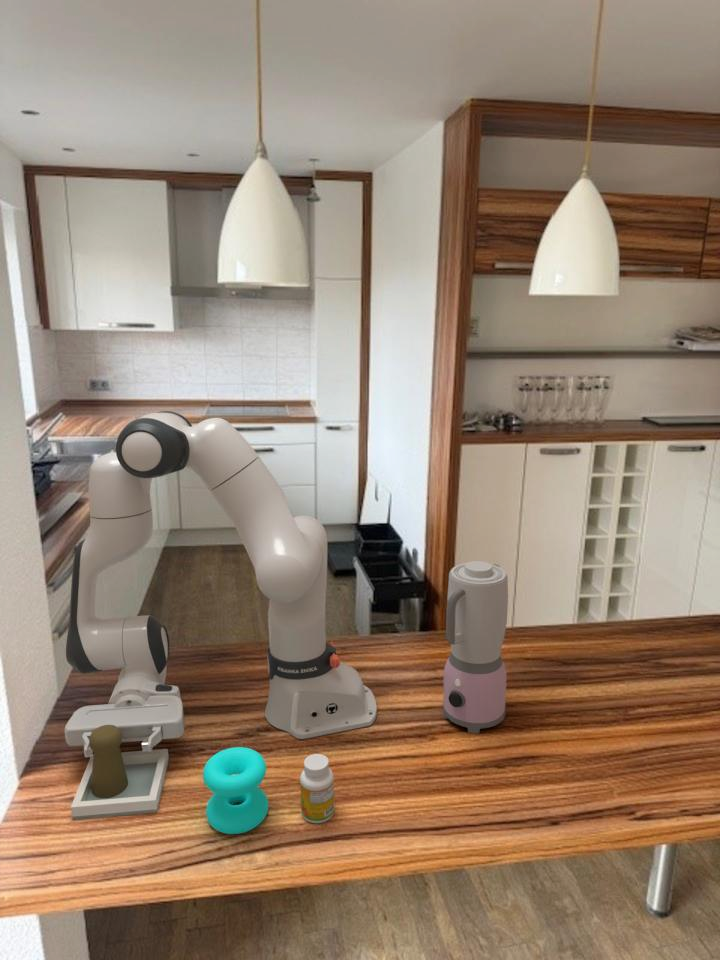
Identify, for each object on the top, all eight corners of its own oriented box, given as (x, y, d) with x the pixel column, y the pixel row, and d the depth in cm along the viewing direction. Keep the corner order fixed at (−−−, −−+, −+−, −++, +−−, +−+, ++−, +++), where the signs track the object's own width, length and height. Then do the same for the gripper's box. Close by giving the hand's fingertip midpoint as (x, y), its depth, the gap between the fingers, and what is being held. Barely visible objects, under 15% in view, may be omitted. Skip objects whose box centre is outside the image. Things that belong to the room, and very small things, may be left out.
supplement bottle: (301, 802, 119) (299, 752, 117) (333, 799, 120) (332, 749, 117) (301, 825, 114) (299, 773, 111) (335, 823, 114) (333, 771, 112)
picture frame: (168, 760, 130) (167, 748, 130) (156, 812, 117) (155, 800, 117) (93, 766, 129) (91, 754, 128) (72, 819, 116) (70, 807, 115)
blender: (466, 691, 151) (470, 549, 142) (517, 713, 143) (524, 564, 134) (420, 724, 140) (421, 572, 131) (472, 751, 132) (477, 590, 123)
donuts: (269, 742, 119) (261, 783, 109) (272, 793, 121) (264, 838, 112) (209, 743, 119) (196, 784, 109) (213, 794, 121) (200, 838, 112)
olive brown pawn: (120, 799, 120) (115, 742, 117) (85, 796, 120) (79, 740, 117) (133, 775, 125) (129, 720, 123) (100, 773, 126) (94, 718, 123)
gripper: (73, 693, 131) (50, 740, 118) (187, 685, 134) (177, 730, 120) (78, 723, 133) (55, 772, 120) (189, 715, 135) (180, 762, 122)
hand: (117, 751), depth 120 cm, fingers open, 8 cm apart
